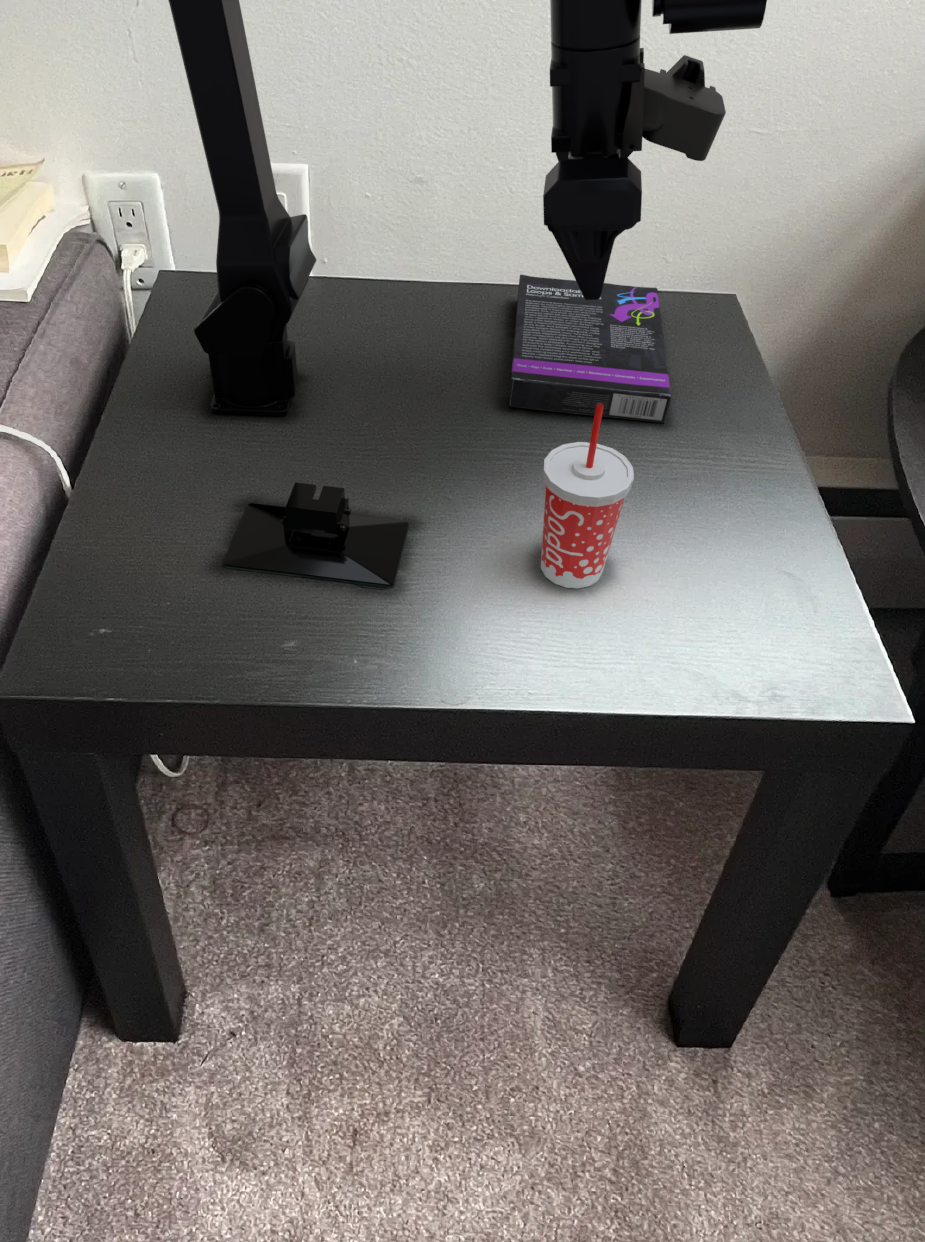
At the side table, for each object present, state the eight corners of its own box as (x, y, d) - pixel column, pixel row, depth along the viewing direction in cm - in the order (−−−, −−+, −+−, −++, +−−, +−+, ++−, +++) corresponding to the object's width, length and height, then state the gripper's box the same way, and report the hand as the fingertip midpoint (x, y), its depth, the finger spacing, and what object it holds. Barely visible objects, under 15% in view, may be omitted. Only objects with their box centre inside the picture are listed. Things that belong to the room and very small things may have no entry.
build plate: (409, 526, 75) (410, 477, 71) (392, 592, 70) (393, 543, 66) (249, 505, 75) (243, 456, 72) (221, 570, 70) (213, 520, 67)
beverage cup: (514, 554, 73) (533, 391, 63) (582, 530, 75) (611, 370, 65) (559, 606, 69) (587, 442, 59) (629, 579, 72) (668, 418, 62)
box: (663, 429, 86) (653, 315, 99) (672, 395, 83) (661, 282, 97) (505, 412, 86) (516, 300, 99) (509, 377, 84) (520, 268, 97)
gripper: (736, 77, 56) (710, 329, 67) (713, -9, 68) (695, 213, 79) (539, 89, 57) (546, 333, 68) (554, 2, 70) (558, 219, 81)
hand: (593, 269), depth 74 cm, fingers open, 9 cm apart
